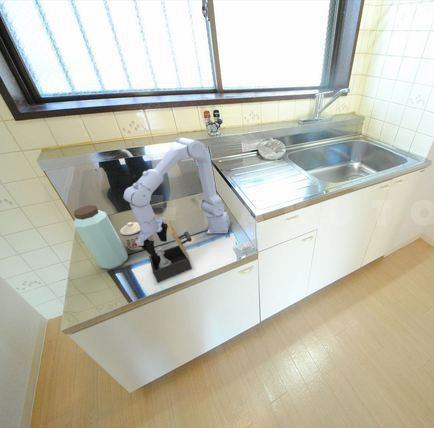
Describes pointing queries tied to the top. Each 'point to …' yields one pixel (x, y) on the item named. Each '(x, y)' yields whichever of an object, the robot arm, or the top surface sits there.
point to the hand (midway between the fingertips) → (158, 247)
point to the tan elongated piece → (177, 238)
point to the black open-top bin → (177, 267)
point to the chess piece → (162, 258)
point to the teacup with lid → (131, 235)
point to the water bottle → (100, 237)
